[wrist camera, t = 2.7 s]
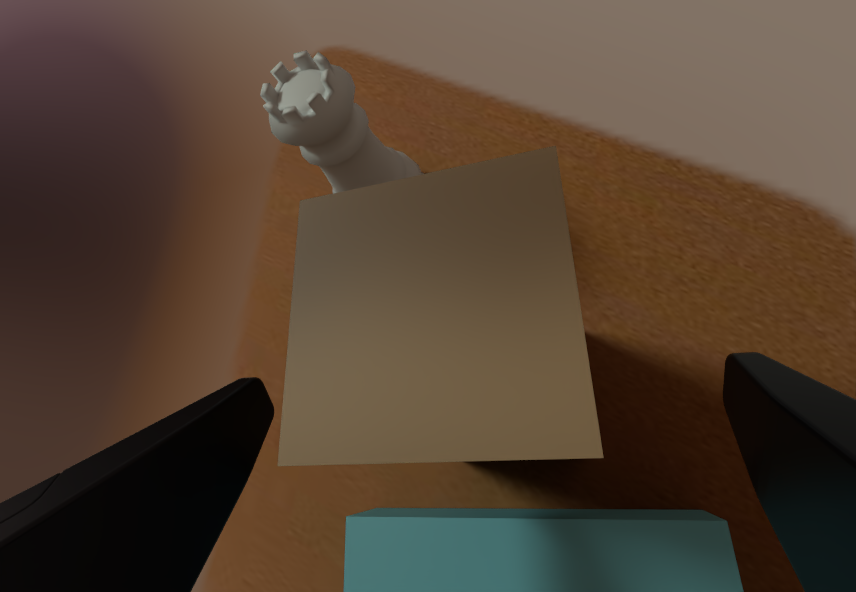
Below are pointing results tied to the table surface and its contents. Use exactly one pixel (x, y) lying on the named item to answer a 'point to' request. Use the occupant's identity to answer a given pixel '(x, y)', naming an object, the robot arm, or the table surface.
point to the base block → (538, 551)
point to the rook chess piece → (330, 125)
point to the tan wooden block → (439, 322)
